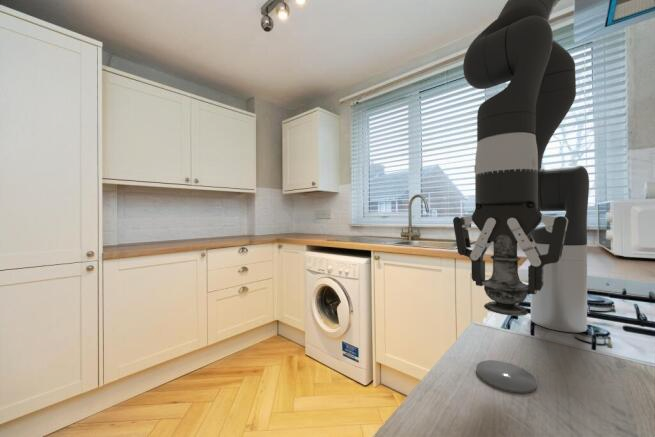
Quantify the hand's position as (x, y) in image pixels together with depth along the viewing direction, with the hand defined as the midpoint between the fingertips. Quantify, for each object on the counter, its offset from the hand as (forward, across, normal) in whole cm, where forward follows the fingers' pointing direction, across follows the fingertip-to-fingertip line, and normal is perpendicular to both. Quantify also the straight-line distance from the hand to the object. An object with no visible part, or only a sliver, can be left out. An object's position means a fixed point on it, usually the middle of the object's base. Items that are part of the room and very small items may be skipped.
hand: (504, 288), depth 40 cm
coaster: (+13, 0, 0) cm, 13 cm away
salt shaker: (+3, 0, 0) cm, 3 cm away
